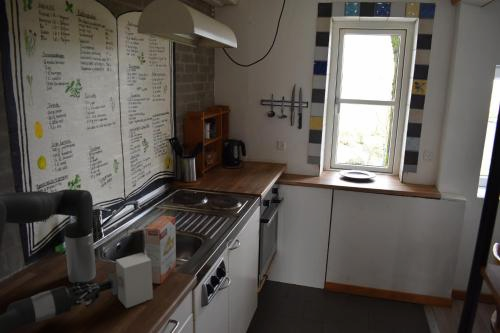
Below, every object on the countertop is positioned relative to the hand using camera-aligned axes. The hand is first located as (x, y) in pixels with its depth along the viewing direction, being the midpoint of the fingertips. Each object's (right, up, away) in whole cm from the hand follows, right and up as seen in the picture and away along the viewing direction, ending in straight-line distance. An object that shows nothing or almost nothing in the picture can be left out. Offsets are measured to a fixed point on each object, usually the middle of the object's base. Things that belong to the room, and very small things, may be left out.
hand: (110, 284), depth 121 cm
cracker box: (+11, -3, +23) cm, 26 cm away
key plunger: (+3, -2, +3) cm, 5 cm away
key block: (+6, -7, +7) cm, 11 cm away
